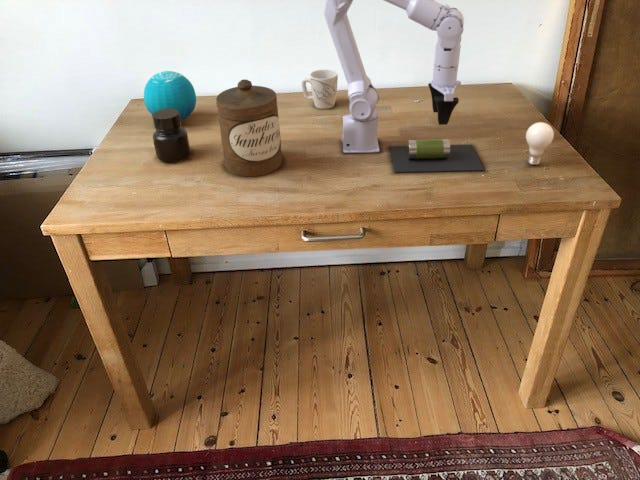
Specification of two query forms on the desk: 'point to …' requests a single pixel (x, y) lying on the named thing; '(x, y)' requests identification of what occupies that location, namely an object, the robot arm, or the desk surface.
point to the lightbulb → (538, 140)
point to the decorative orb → (170, 93)
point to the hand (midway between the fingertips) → (440, 117)
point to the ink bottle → (170, 136)
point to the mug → (322, 88)
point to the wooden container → (249, 129)
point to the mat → (437, 161)
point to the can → (428, 149)
